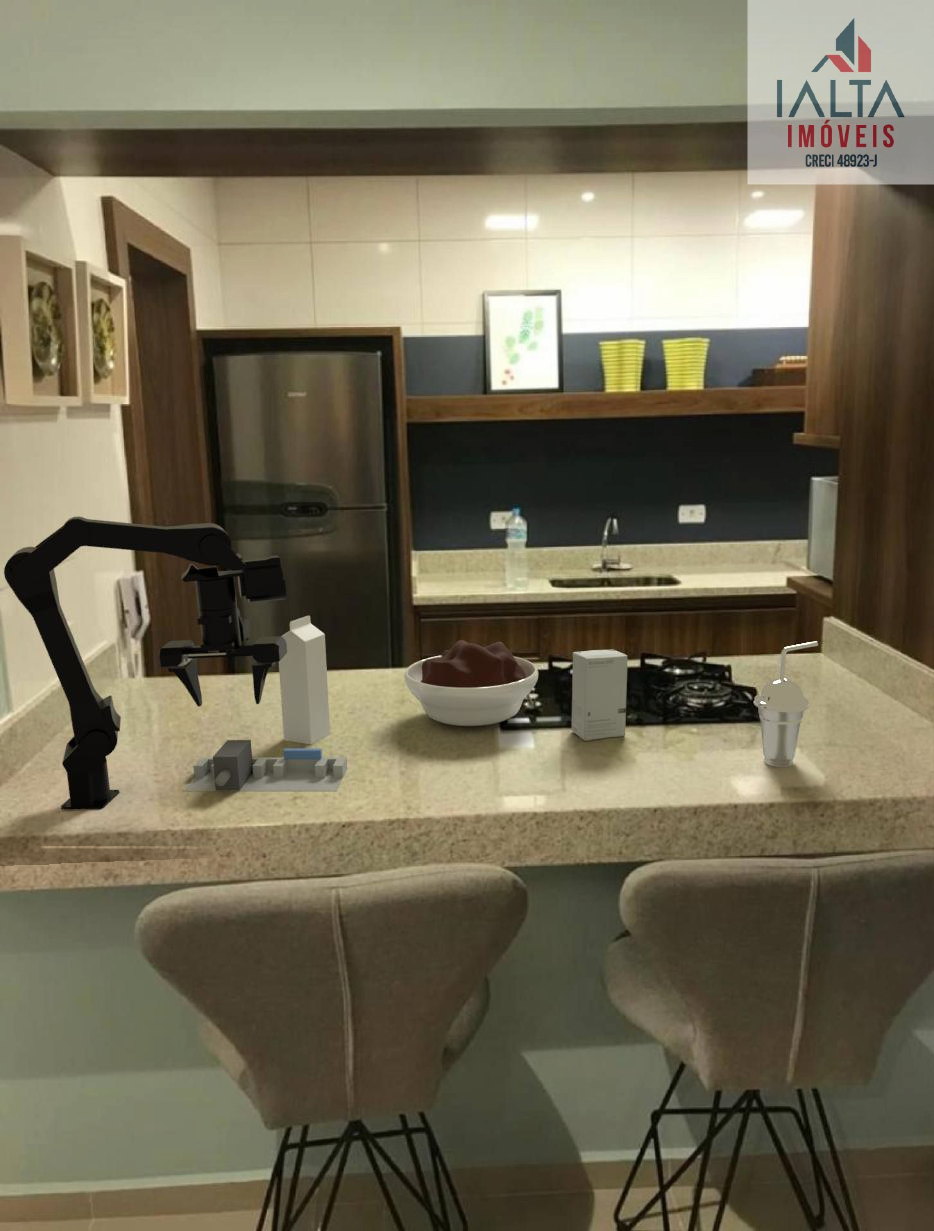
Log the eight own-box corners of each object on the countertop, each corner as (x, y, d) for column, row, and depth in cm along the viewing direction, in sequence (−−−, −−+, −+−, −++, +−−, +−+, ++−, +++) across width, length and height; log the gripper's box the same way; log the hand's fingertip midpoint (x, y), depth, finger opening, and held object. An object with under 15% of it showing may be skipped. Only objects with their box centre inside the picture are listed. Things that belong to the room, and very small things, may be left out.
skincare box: (584, 742, 164) (584, 659, 161) (570, 731, 170) (570, 651, 166) (627, 736, 166) (629, 654, 163) (612, 725, 172) (613, 646, 169)
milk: (283, 741, 168) (274, 620, 163) (303, 731, 173) (295, 613, 168) (312, 746, 165) (303, 623, 160) (331, 735, 170) (323, 616, 166)
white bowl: (378, 719, 179) (375, 642, 175) (473, 690, 195) (471, 619, 192) (470, 751, 161) (468, 665, 158) (566, 716, 178) (566, 638, 174)
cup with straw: (756, 749, 158) (761, 633, 154) (813, 757, 154) (820, 638, 150) (746, 766, 151) (751, 645, 147) (805, 775, 147) (812, 651, 143)
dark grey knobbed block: (234, 798, 143) (231, 763, 141) (209, 798, 143) (206, 763, 142) (253, 772, 153) (250, 739, 152) (230, 772, 153) (227, 740, 152)
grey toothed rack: (336, 792, 145) (335, 769, 144) (183, 792, 146) (180, 769, 145) (347, 770, 153) (346, 748, 153) (202, 770, 155) (200, 748, 154)
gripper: (290, 593, 151) (299, 686, 155) (175, 598, 152) (187, 691, 155) (273, 608, 140) (283, 708, 144) (150, 614, 141) (163, 713, 145)
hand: (229, 704), depth 147 cm, fingers open, 9 cm apart
